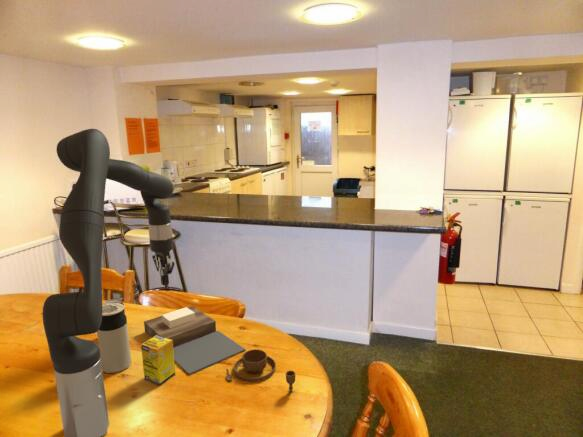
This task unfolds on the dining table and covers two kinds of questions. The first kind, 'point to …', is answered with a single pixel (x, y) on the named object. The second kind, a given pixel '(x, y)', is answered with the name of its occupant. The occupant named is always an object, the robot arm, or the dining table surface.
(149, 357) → the supplement box
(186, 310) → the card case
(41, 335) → the dining table surface
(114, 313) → the travel mug
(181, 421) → the dining table surface
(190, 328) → the walnut board
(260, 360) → the place setting
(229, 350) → the rubber mat
